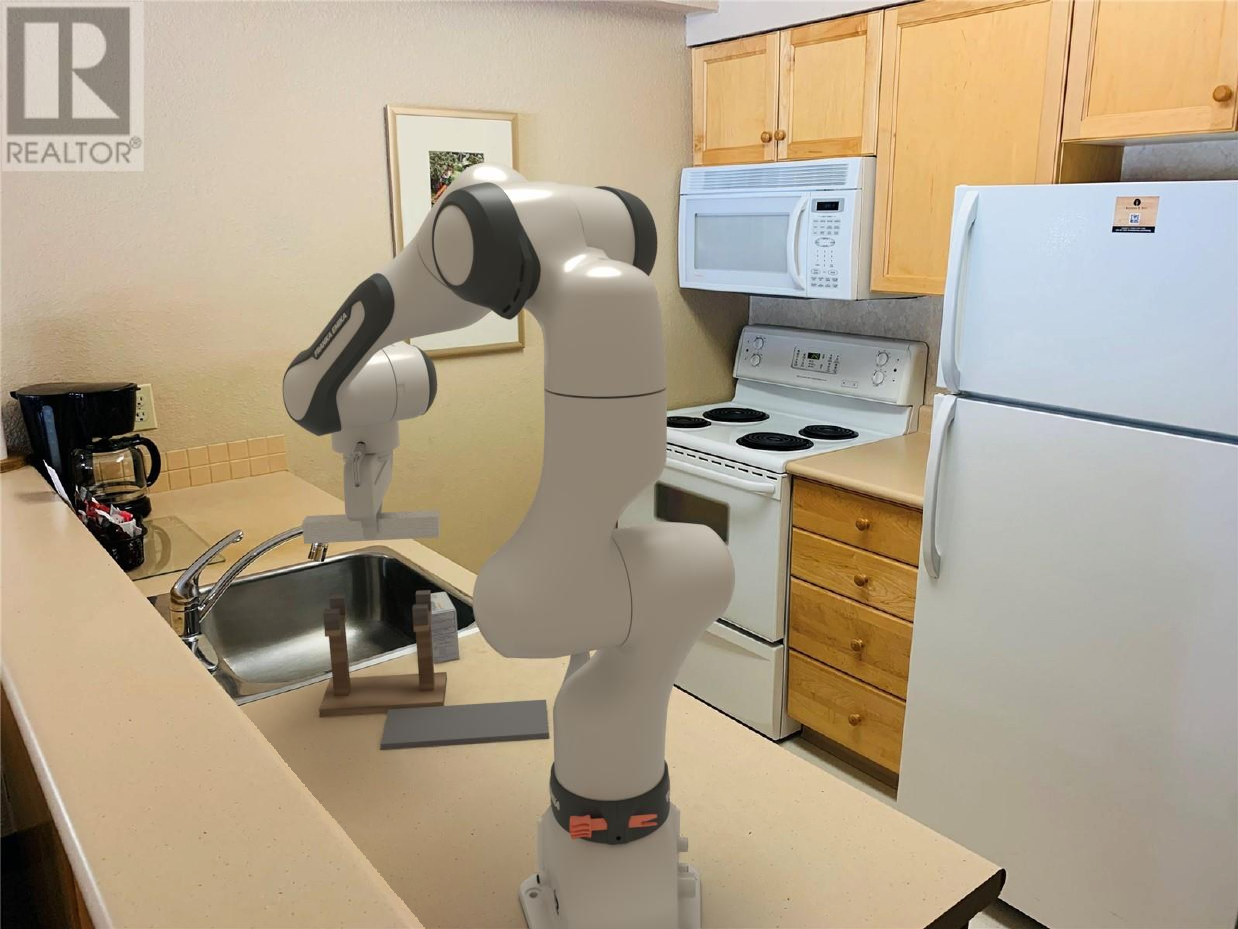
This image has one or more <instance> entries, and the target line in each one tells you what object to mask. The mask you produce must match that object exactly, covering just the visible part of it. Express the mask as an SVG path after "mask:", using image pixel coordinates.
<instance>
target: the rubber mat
mask: <svg viewBox="0 0 1238 929" xmlns="http://www.w3.org/2000/svg"><path fill="white" fill-rule="evenodd" d="M548 716H549V715H548V705H547V699H535V700H534V699H533V700H518V701H503V702H502V701H500V702H487V703H486V702H485V703H484V702H483V703H471V704H470V703H469V704H468V703H467V704H454V705H444V706H435V707H419V708H403V709H388V713H386V719H385V722H384V727H383V731H382V736H381V740H380V750H392V749H393V750H394V749H396V750H397V749H408V748H424V747H438V746H453V745H468V744H469V745H470V744H484V743H486V744H487V743H496V742H497V743H498V742H512V741H513V742H514V741H526V740H543V739H550V727H549V718H548Z"/></svg>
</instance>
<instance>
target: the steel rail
mask: <svg viewBox="0 0 1238 929" xmlns="http://www.w3.org/2000/svg"><path fill="white" fill-rule="evenodd" d="M376 521H377V525H378V535H377V538H376V539H370V540H366V539H364V537H363V527H362V525H361V522H360V521H348V519H347V517H346V513H343V514H342V513H341V514H323V515H322V514H321V515H319V514H318V515H305V517H304V518H303V521H302V522H301V525H302V536H303V544H304V545H305V544H306V545H307V544H310V545H311V544H327V543H328V544H329V543H347V542H348V543H349V542H351V543H352V542H369V541H370V542H372V541H392V540H411V539H412V540H413V539H432V538H433V539H434V538H440V535H441V534H440V533H441V521H440V510H439V509H435V510H430V509H429V510H413V511H411V510H410V511H409V510H408V511H393V512H392V511H389V512H388V511H387V512H382V513H377V514H376Z"/></svg>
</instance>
